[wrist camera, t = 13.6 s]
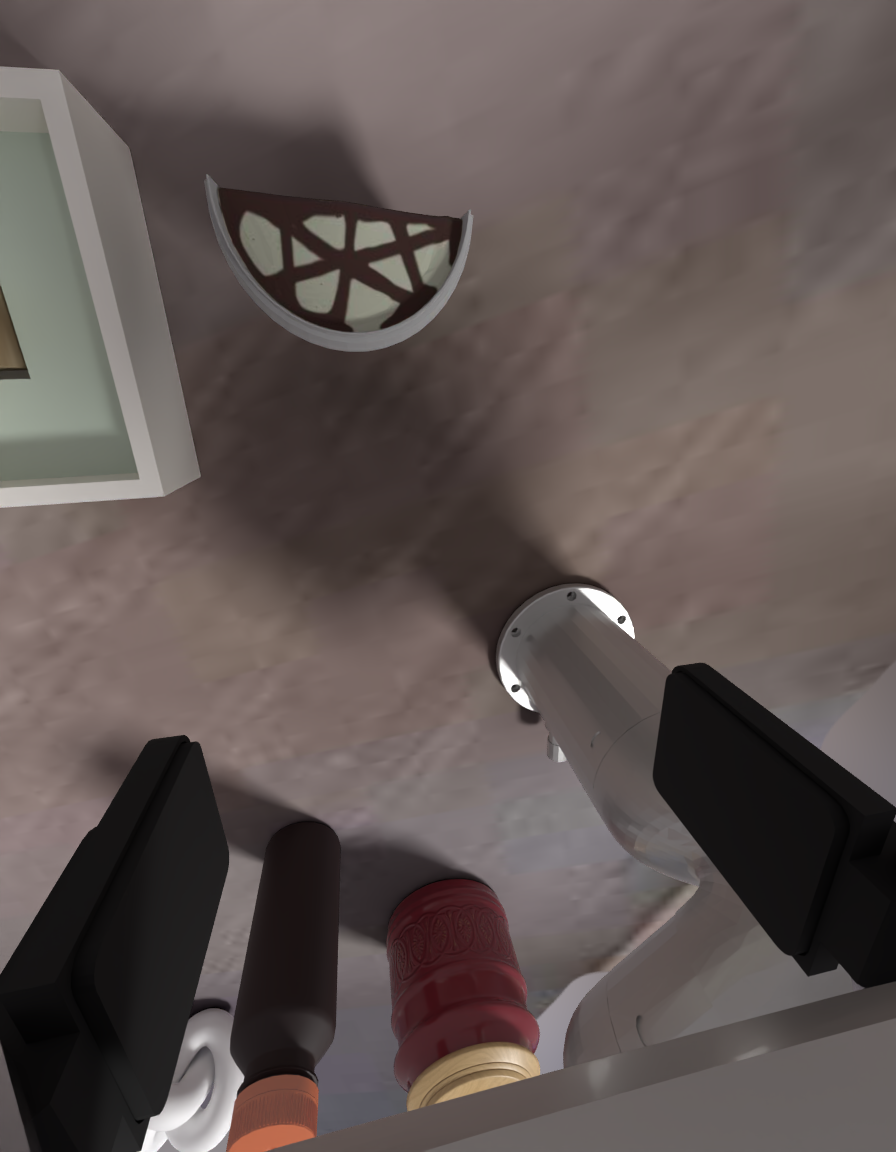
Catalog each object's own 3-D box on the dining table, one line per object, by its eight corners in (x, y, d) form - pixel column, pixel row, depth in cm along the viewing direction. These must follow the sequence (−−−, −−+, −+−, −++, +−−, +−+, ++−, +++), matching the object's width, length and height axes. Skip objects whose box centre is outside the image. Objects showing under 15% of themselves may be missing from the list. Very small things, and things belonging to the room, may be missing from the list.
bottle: (354, 834, 47) (355, 1122, 28) (316, 881, 48) (293, 1187, 29) (291, 809, 44) (247, 1106, 26) (252, 860, 45) (183, 1178, 27)
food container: (251, 354, 31) (208, 337, 22) (242, 242, 29) (191, 171, 20) (439, 367, 34) (472, 357, 24) (444, 265, 31) (482, 211, 22)
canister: (458, 969, 56) (501, 1202, 40) (362, 944, 52) (366, 1194, 36) (524, 893, 54) (599, 1108, 38) (429, 860, 50) (466, 1088, 33)
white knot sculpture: (240, 978, 51) (218, 1092, 42) (268, 1044, 55) (253, 1159, 47) (124, 1009, 49) (78, 1133, 41) (163, 1074, 54) (128, 1198, 45)
